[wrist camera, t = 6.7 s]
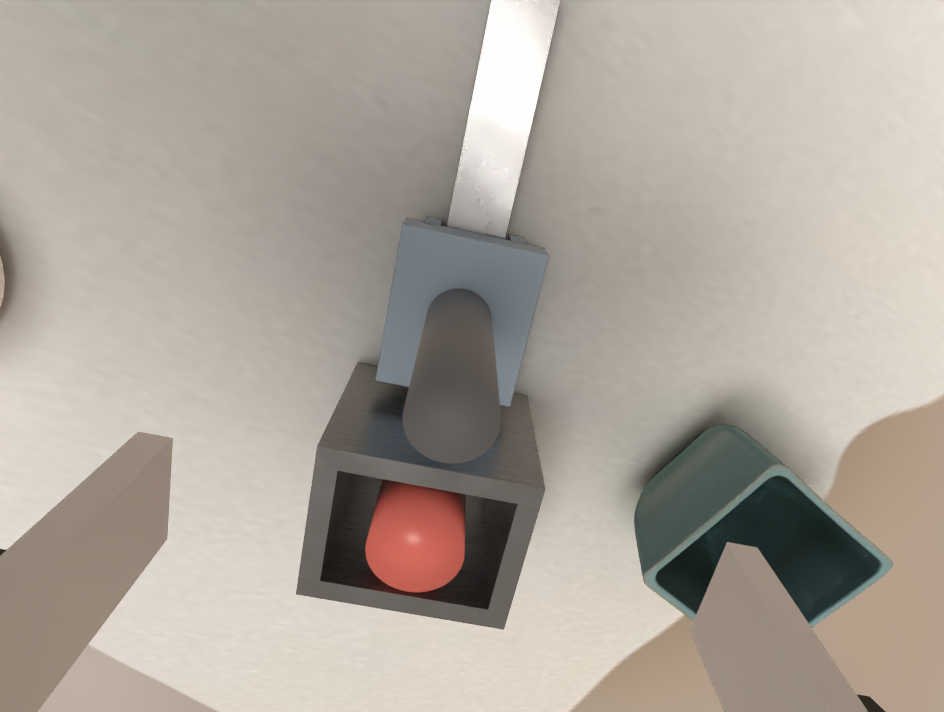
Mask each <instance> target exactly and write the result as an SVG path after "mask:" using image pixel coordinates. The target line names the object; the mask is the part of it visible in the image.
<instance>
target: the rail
mask: <svg viewBox="0 0 944 712" xmlns="http://www.w3.org/2000/svg"><path fill="white" fill-rule="evenodd" d="M559 4H560V0H491V5H490V10H489V15H488V20H487V25H486V30H485V35H484V40H483V45H482V50H481V56H480V61H479V66H478V71H477V76H476V81H475V86H474V91H473V96H472V101H471V106H470V111H469V116H468V121H467V126H466V131H465V136H464V141H463V146H462V152H461V157H460V162H459V167H458V172H457V177H456V182H455V187H454V192H453V197H452V202H451V207H450V212H449V217H448V222H447V227H450V228H454V229H459V230H464V231H468V232H473V233H477V234H482V235H487V236H491V237H496V238H501V239H505V237H506V233H507V229H508V224H509V220H510V216H511V211H512V207H513V203H514V198H515V194H516V190H517V185H518V181H519V177H520V172H521V168H522V164H523V160H524V155H525V151H526V147H527V142H528V138H529V134H530V129H531V125H532V121H533V116H534V112H535V108H536V103H537V99H538V95H539V91H540V86H541V82H542V78H543V73H544V69H545V65H546V60H547V56H548V52H549V47H550V43H551V39H552V34H553V30H554V26H555V21H556V17H557V13H558V9H559Z"/></svg>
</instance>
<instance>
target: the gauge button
mask: <svg viewBox="0 0 944 712" xmlns="http://www.w3.org/2000/svg"><path fill="white" fill-rule="evenodd" d="M465 504H466V494H461V493H456V492H450V491H445V490H439V489H434V488H429V487H423V486H418V485H412V484H407V483H402V482H396V481H391V480H385V479H382V483H381V486H380V490H379V494H378V498H377V502H376V506H375V510H374V514H373V518H372V522H371V526H370V530H369V533H368V537H367V541H366V547H365V552H366V558H367V562H368V564H369V566H370V568H371V570H372V571H373V572H374V574H375V575H376V576H377V577H378V578H379V579H380V580H382V581H383V582H384V583H386V584H387V585H389V586H391V587H393V588H396V589H399V590H402V591H407V592H426V591H431V590H434V589H437V588H439V587H442V586H444V585H445V584H447V583H448V582H450V581H451V580H452V579H453V578H454V577H455V576H456V575H457V573H458V572H459V571H460V569H461V567H462V564H463V561H464V555H465Z"/></svg>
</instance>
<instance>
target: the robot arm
mask: <svg viewBox="0 0 944 712" xmlns="http://www.w3.org/2000/svg"><path fill="white" fill-rule="evenodd" d="M172 442H173V438H169V437H163V436H158V435H153V434H147V433H142V432H137V433H136V434H135V435H134V436H133V437H132V438H131V439H130V440H128V441H127V442H126V443H125V444H124V445H123V446H122V447H121V448H120V449H118V450H117V451H116V452H115V453H114V454H113V455H112V456H111V457H110V458H108V459H107V460H106V461H105V462H104V463H103V464H102V465H101V466H100V467H98V468H97V469H96V470H95V471H94V472H93V473H92V474H91V475H90V476H88V477H87V478H86V479H85V480H84V481H83V482H82V483H81V484H80V485H78V486H77V487H76V488H75V489H74V490H73V491H72V492H71V493H70V494H68V495H67V496H66V497H65V498H64V499H63V500H62V501H61V502H60V503H58V504H57V505H56V506H55V507H54V508H53V509H52V510H51V511H50V512H48V513H47V514H46V515H45V516H44V517H43V518H42V519H41V520H40V521H38V522H37V523H36V524H35V525H34V526H33V527H32V528H31V529H30V530H28V531H27V532H26V533H25V534H24V535H23V536H22V537H21V538H20V539H18V540H17V541H16V542H15V543H14V544H13V545H12V546H11V547H10V548H8V549H7V550H3V549H0V712H37V711H38V710H39V709H40V708H41V706H42V705H43V703H44V702H45V701H46V699H47V698H48V697H49V696H50V694H51V693H52V692H53V690H54V689H55V687H56V686H57V685H58V684H59V682H60V681H61V680H62V678H63V677H64V676H65V674H66V673H67V672H68V670H69V669H70V668H71V666H72V665H73V664H74V662H75V661H76V660H77V658H78V657H79V656H80V654H81V653H82V652H83V650H84V649H85V648H86V646H87V645H88V644H89V642H90V641H91V640H92V638H93V637H94V636H95V634H96V633H97V632H98V630H99V629H100V628H101V626H102V625H103V624H104V622H105V621H106V620H107V618H108V617H109V616H110V614H111V613H112V612H113V610H114V609H115V608H116V606H117V605H118V604H119V602H120V601H121V600H122V598H123V597H124V596H125V594H126V593H127V592H128V590H129V589H130V588H131V586H132V585H133V584H134V582H135V581H136V580H137V578H138V577H139V576H140V574H141V573H142V572H143V570H144V569H145V568H146V566H147V565H148V564H149V562H150V561H151V560H152V558H153V557H154V556H155V554H156V553H157V552H158V550H159V549H160V548H161V546H162V545H163V544H164V542H165V541H166V540H167V533H168V514H169V496H170V478H171V460H172ZM690 633H691V635H692V638H693V640H694V642H695V644H696V647H697V649H698V651H699V654H700V656H701V659H702V661H703V663H704V666H705V668H706V670H707V673H708V675H709V677H710V680H711V682H712V684H713V687H714V689H715V691H716V694H717V696H718V698H719V701H720V703H721V706H722V708H723V710H724V712H885V711H884V710H883V709H882V708H881V707H880V706H879V705H878V704H877V703H876V702H874V701H873V700H872V699H871V698H870V697H868V696H862V695H857V694H856V693H855V691H854V690H853V688H852V687H851V686H850V684H849V683H848V681H847V680H846V678H845V677H844V675H843V674H842V672H841V671H840V669H839V668H838V666H837V665H836V663H835V662H834V661H833V659H832V657H831V656H830V655H829V653H828V651H827V650H826V648H825V647H824V645H823V644H822V643H821V641H820V640H819V638H818V637H817V635H816V634H815V632H814V631H813V629H812V628H811V626H810V625H809V623H808V622H807V620H806V619H805V617H804V616H803V614H802V613H801V611H800V610H799V608H798V607H797V605H796V604H795V603H794V601H793V600H792V598H791V597H790V595H789V594H788V592H787V591H786V589H785V588H784V586H783V585H782V583H781V582H780V580H779V579H778V577H777V576H776V574H775V573H774V571H773V570H772V568H771V567H770V566H769V564H768V563H767V561H766V560H765V558H764V557H763V555H762V554H761V552H760V551H759V549H758V548H757V547H751V546H746V545H741V544H735V543H730V542H727V543H726V546H725V548H724V550H723V553H722V555H721V558H720V560H719V562H718V565H717V567H716V569H715V572H714V574H713V576H712V579H711V581H710V584H709V586H708V588H707V591H706V593H705V595H704V598H703V600H702V602H701V605H700V607H699V610H698V612H697V614H696V617H695V619H694V621H693V624H692V626H691V629H690Z"/></svg>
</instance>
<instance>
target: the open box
mask: <svg viewBox="0 0 944 712" xmlns="http://www.w3.org/2000/svg"><path fill="white" fill-rule="evenodd" d="M377 369H378V366H375V365H370V364H365V363H360V362H358V363H357V365H356V367H355V369H354V371H353V373H352V376H351V378H350V380H349V382H348V384H347V386H346V388H345V390H344V392H343V394H342V396H341V398H340V400H339V402H338V404H337V407H336V409H335V411H334V413H333V415H332V417H331V419H330V421H329V423H328V425H327V427H326V429H325V431H324V433H323V435H322V438H321V440H320V442H319V444H318V446H317V452H316V459H315V466H314V473H313V480H312V487H311V493H310V500H309V507H308V514H307V521H306V528H305V535H304V542H303V549H302V556H301V563H300V570H299V577H298V584H297V591H296V594H298V595H304V596H309V597H315V598H321V599H327V600H333V601H339V602H345V603H351V604H357V605H363V606H368V607H374V608H380V609H386V610H392V611H398V612H404V613H410V614H416V615H421V616H427V617H433V618H439V619H445V620H451V621H457V622H463V623H469V624H475V625H480V626H486V627H492V628H498V629H504V627H505V624H506V620H507V617H508V614H509V610H510V607H511V603H512V600H513V597H514V593H515V590H516V586H517V583H518V580H519V576H520V573H521V569H522V566H523V563H524V559H525V556H526V553H527V549H528V546H529V542H530V539H531V536H532V532H533V529H534V525H535V522H536V519H537V515H538V512H539V509H540V505H541V502H542V498H543V495H544V492H545V485H544V480H543V475H542V470H541V465H540V460H539V455H538V450H537V445H536V440H535V435H534V429H533V424H532V419H531V414H530V409H529V404H528V399H527V396H526V395H521V394H516V393H513V396H512V400H511V404H510V407H509V406H504V405H500V410H501V427H500V431H499V434H498V437H497V439H496V441H495V442H494V443H493V445H492V446H491V447H490V448H489V449H488V450H487V451H486V452H485V453H484V454H482V455H481V456H479V457H477V458H475V459H473V460H470V461H468V462H463V463H456V464H449V463H442V462H438V461H434V460H432V459H429V458H428V457H426V456H424V455H423V454H421V453H420V452H419V451H417V450H416V449H415V448H414V447H413V445H412V444H411V443H410V441H409V440H408V438H407V436H406V434H405V431H404V427H403V410H404V406H405V402H406V397H407V393H408V389H409V387H407V386H402V385H397V384H392V383H387V382H382V381H377V380H376V375H377ZM382 479H385V480H391V481H396V482H402V483H407V484H412V485H418V486H423V487H429V488H434V489H439V490H445V491H450V492H456V493H461V494H466V504H465V555H464V561H463V564H462V567H461V569H460V571H459V572H458V573H457V575H456V576H455V577H454V578H453V579H452V580H451V581H450V582H448V583H447V584H445V585H444V586H442V587H439V588H437V589H434V590H431V591H426V592H407V591H402V590H399V589H396V588H393V587H391V586H389V585H387V584H386V583H384V582H383V581H382V580H380V579H379V578H378V577H377V576H376V575H375V574H374V572H373V571H372V570H371V568H370V566H369V564H368V562H367V558H366V552H365V547H366V541H367V537H368V533H369V530H370V526H371V522H372V518H373V514H374V510H375V506H376V502H377V498H378V494H379V490H380V486H381V483H382Z"/></svg>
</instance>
